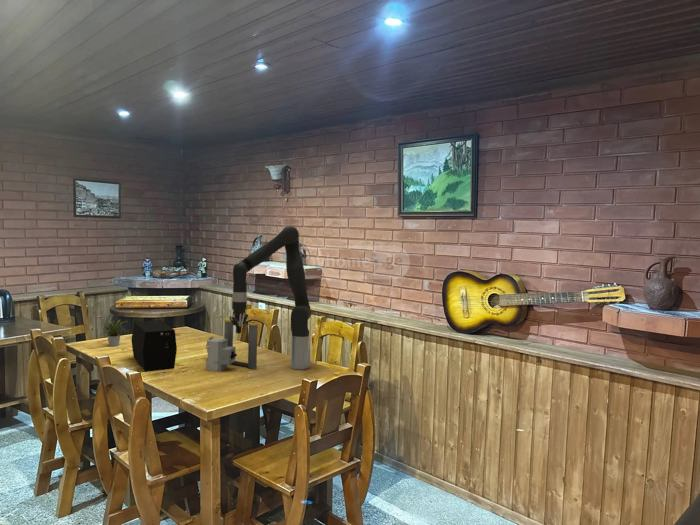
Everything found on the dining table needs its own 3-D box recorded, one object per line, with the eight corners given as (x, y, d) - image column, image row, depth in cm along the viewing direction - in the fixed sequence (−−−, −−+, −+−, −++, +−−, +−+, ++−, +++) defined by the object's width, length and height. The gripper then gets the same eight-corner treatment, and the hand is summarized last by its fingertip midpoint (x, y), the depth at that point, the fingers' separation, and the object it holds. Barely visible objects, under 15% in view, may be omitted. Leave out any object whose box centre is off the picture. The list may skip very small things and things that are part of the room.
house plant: (127, 342, 309) (127, 316, 308) (130, 346, 297) (130, 319, 296) (101, 343, 302) (102, 317, 301) (103, 348, 290) (104, 321, 289)
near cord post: (259, 367, 261) (260, 322, 260) (253, 369, 257) (254, 323, 255) (251, 366, 264) (252, 321, 262) (245, 368, 259) (246, 322, 258)
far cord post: (235, 363, 268) (236, 319, 267) (228, 365, 264) (229, 320, 262) (227, 361, 271) (228, 317, 269) (221, 363, 266) (221, 319, 265)
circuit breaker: (231, 372, 250) (232, 342, 250) (205, 369, 253) (206, 340, 253) (238, 368, 258) (238, 339, 257) (212, 366, 261) (213, 337, 260)
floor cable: (249, 366, 262) (249, 362, 262) (247, 367, 260) (247, 363, 260) (232, 363, 267) (233, 360, 267) (230, 364, 265) (230, 360, 265)
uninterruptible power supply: (162, 354, 281) (163, 319, 280) (177, 369, 253) (178, 330, 252) (131, 357, 272) (131, 321, 271) (142, 373, 244) (143, 332, 243)
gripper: (237, 302, 253) (236, 336, 254) (253, 299, 265) (252, 332, 266) (225, 301, 256) (224, 334, 257) (242, 298, 268) (241, 330, 269)
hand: (238, 333), depth 261 cm, fingers closed
